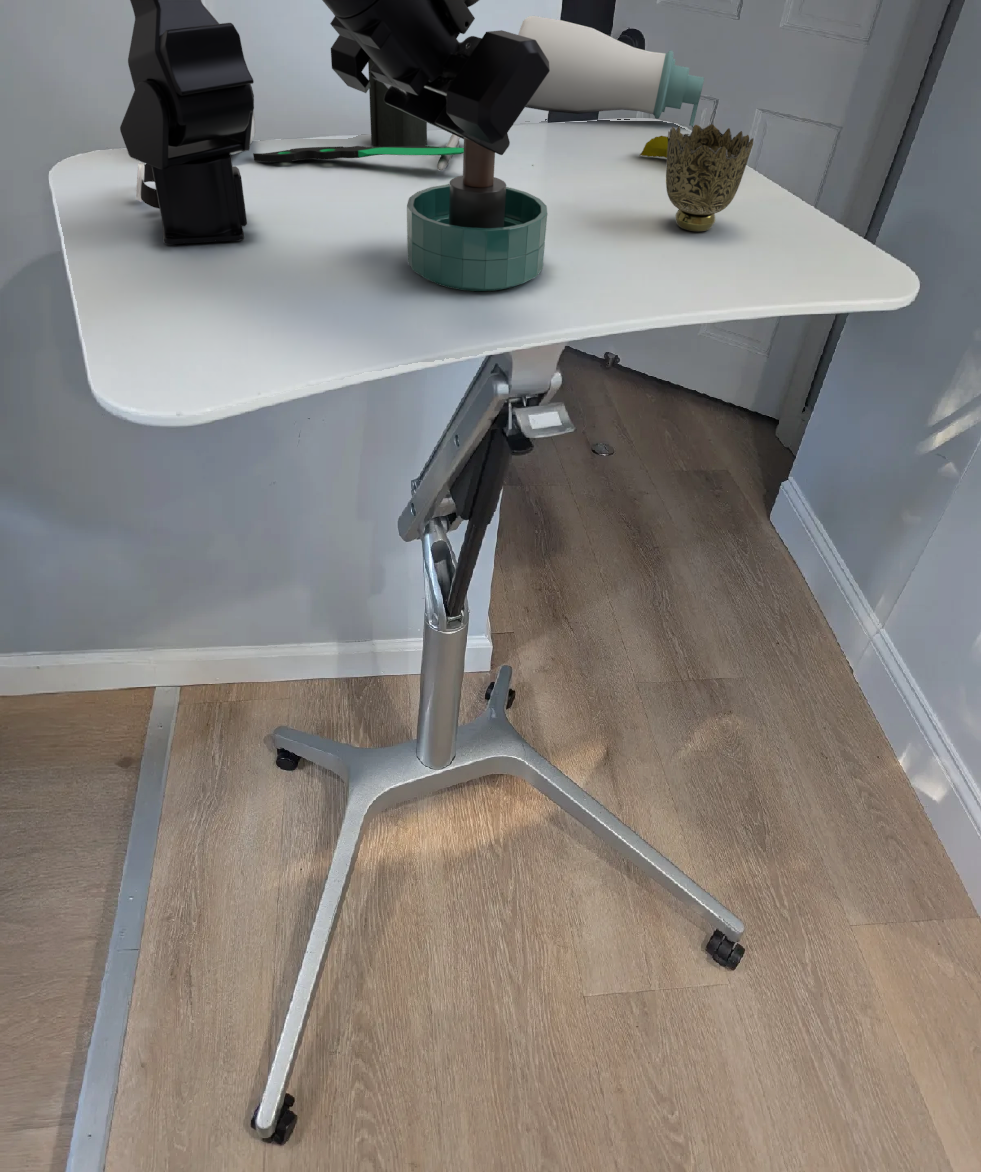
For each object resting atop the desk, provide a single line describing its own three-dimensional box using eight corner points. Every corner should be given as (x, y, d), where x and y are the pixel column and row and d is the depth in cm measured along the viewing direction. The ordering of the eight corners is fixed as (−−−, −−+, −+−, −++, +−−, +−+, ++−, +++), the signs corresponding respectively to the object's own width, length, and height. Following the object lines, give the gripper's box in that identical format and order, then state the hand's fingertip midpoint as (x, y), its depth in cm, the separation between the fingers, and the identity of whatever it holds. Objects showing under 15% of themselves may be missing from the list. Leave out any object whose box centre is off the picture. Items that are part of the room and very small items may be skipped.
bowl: (426, 300, 69) (426, 234, 65) (395, 247, 76) (394, 186, 73) (560, 289, 71) (567, 225, 68) (517, 240, 79) (521, 180, 76)
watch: (137, 189, 84) (128, 148, 82) (189, 187, 86) (182, 146, 83) (136, 217, 79) (127, 174, 77) (192, 215, 80) (185, 172, 78)
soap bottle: (506, 104, 109) (692, 136, 108) (519, 10, 104) (714, 42, 103) (516, 105, 118) (689, 134, 116) (529, 17, 113) (709, 47, 111)
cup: (707, 210, 88) (724, 121, 82) (749, 237, 82) (771, 143, 77) (639, 216, 85) (653, 125, 80) (679, 244, 80) (696, 148, 75)
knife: (248, 154, 92) (267, 146, 96) (250, 163, 92) (269, 154, 96) (470, 153, 87) (481, 144, 91) (471, 161, 88) (481, 152, 92)
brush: (456, 246, 70) (461, 73, 62) (442, 227, 73) (445, 59, 65) (510, 243, 71) (521, 72, 63) (494, 224, 74) (502, 59, 67)
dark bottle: (431, 143, 101) (431, -143, 85) (404, 153, 97) (399, -143, 81) (394, 134, 103) (388, -147, 86) (366, 144, 99) (354, -147, 83)
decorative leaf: (719, 174, 96) (711, 149, 93) (707, 188, 96) (698, 164, 93) (654, 152, 102) (645, 128, 99) (642, 166, 102) (633, 142, 99)
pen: (462, 141, 101) (462, 128, 100) (444, 179, 91) (444, 164, 90) (453, 141, 101) (453, 127, 100) (434, 178, 91) (434, 163, 90)
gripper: (540, -125, 50) (645, 79, 62) (358, -147, 60) (479, 31, 73) (424, 50, 51) (550, 215, 64) (265, -3, 62) (401, 148, 74)
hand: (493, 145), depth 69 cm, fingers closed on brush, 2 cm apart
